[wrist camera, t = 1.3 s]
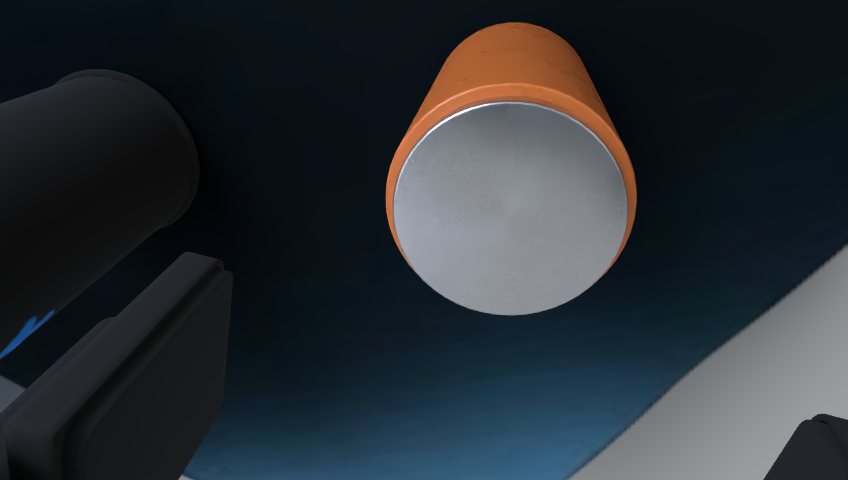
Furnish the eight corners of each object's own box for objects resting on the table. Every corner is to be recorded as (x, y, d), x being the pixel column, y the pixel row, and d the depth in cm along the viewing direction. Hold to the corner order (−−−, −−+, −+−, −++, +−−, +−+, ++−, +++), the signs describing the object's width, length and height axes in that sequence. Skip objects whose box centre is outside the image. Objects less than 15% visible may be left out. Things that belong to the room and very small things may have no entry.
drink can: (462, -2, 25) (422, 50, 14) (616, 51, 25) (691, 141, 14) (416, 146, 28) (354, 281, 17) (554, 193, 28) (576, 354, 18)
